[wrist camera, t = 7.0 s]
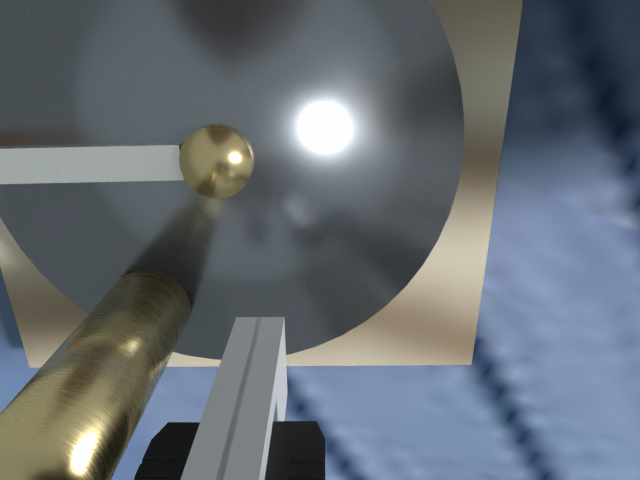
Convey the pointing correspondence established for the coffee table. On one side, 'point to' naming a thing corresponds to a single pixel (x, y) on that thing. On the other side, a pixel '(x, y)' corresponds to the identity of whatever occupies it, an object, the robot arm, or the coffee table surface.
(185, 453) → the robot arm
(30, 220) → the turntable
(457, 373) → the coffee table surface
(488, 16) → the base plate
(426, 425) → the coffee table surface
